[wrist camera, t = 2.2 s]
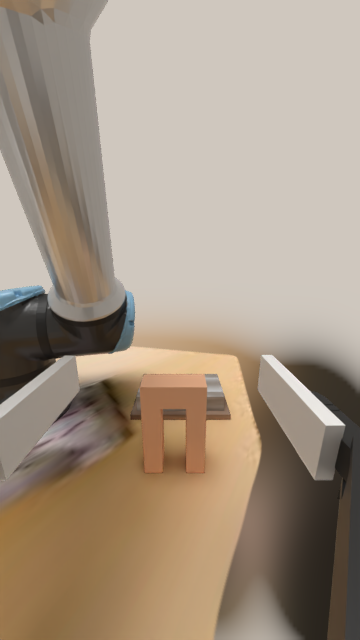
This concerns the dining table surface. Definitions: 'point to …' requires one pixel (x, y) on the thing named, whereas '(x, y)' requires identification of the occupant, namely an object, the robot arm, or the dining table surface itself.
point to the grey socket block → (213, 411)
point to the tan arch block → (173, 395)
